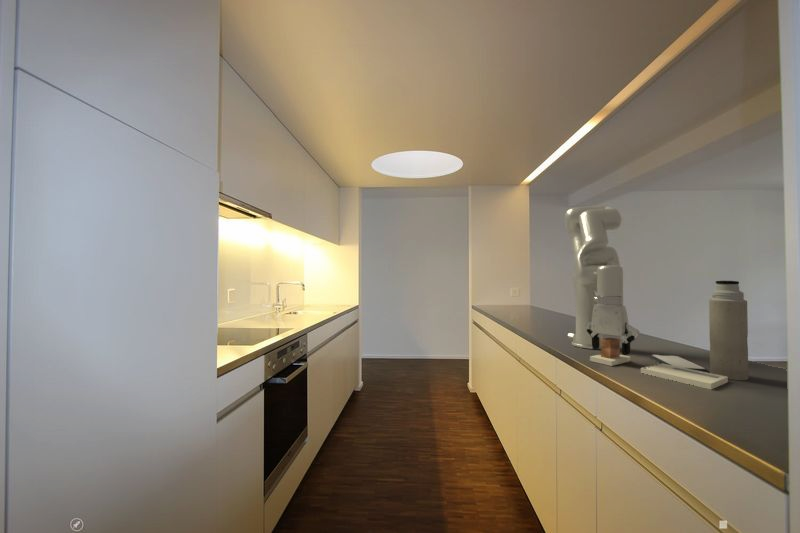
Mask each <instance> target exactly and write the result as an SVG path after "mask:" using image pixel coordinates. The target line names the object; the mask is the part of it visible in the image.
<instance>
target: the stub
mask: <svg viewBox="0 0 800 533" xmlns="http://www.w3.org/2000/svg"><path fill="white" fill-rule="evenodd" d="M620 343H621V338H615V337H612V336H611V337H605V338H602V339H601V349H600V354H596V355H590V356H589V362H593V363H597V364H601V365H605V366H606V365H607V366H609V367H614V366H617V365H622V364H624V363H629V362H631V361H632V357H631V356H630V355H622V354H621V350H620V348H621V347H620V346H621V344H620Z"/></svg>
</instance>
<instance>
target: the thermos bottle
mask: <svg viewBox="0 0 800 533" xmlns="http://www.w3.org/2000/svg"><path fill="white" fill-rule="evenodd" d="M715 284H716V286H715V290H713V291H712V293H711V296H712V297H711V298H709V299H708V301H709V302H708V307H709V310H708V311H709V313H708V314H709V315H708V316H709V317H708V318H709V373H712V374H717V375H722V376H727V377H728V380H735V381H747V380H749V347H748V346H749V345H748V335H749V332H748V331H749V330H748V328H749V327H748V301H747V300H746V299H744V298H745V294H744V292H742V291H741V290H740V285H739V284H740V282H739V281H738V280H717V281H715Z"/></svg>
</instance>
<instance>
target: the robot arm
mask: <svg viewBox="0 0 800 533" xmlns="http://www.w3.org/2000/svg"><path fill="white" fill-rule="evenodd" d="M621 216H622V215H621V213H620V211H619V210H618V209H617V208H615V207H612V206H609V205H592V206H591V205H590V206H589V205H587V206H575V207H572V208H569V209H567V210H566V211H565V214H564V225H565V230H566V231H567V234H568V236H569V238H570V240H571V246H572V254H573V270H574V273H573V276H572V282H573V288H574V296H575V333H572V332H568V334H567V338H569V339H572V341H571V345H572V346H573V347H577V348H581V349H588V350H590V349H591V350H601V339H603V335H604V336H611V337H619V339H620V340H621V341H622V343H621V355H625V356H630V353H631V343H632V342H633V341H635V340H636V339H637V337H638V336H639V334H640V330H639V329H637V328H635V327H633V326H632V325H630V324H629V318H628V312H627V308H626V306H624V270H623V267H622V265H621V264H620V261H619V259H620V258H619V255H618V251H617V250H616V249H615V248H614V247H612V246H608V244H609V237H608V233H607V231H609V230H610V231H611V230H612V231H613V230H617V229H619V228H620V227H621V223H622V217H621ZM629 331H630V332H631V334H630V335H629Z"/></svg>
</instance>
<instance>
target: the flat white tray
mask: <svg viewBox="0 0 800 533" xmlns="http://www.w3.org/2000/svg"><path fill="white" fill-rule="evenodd" d="M642 373H644V374H643V375H647V374H648V375H647V376H651V375H652V377H655V376H656V378H660V379H663V380H668V379H669V381H672V380H673V382H676V381H677V383H681V384H686V385H689V384H690V386H693V385H694V387H699V388H703V389H706V390H710V391H711V390H714V389H715V388H719V387H720V386H723V385H725V384H726V383H728V382H729V379H728V377H727V376H722V375H717V374H712V373H710V372H702V371H697V370H692V369H687V368H682V367H677V366H672V365H668V364H663V363H660V362H657V363H654V364H651V365H647V366H643V367H640V374H642Z"/></svg>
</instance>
